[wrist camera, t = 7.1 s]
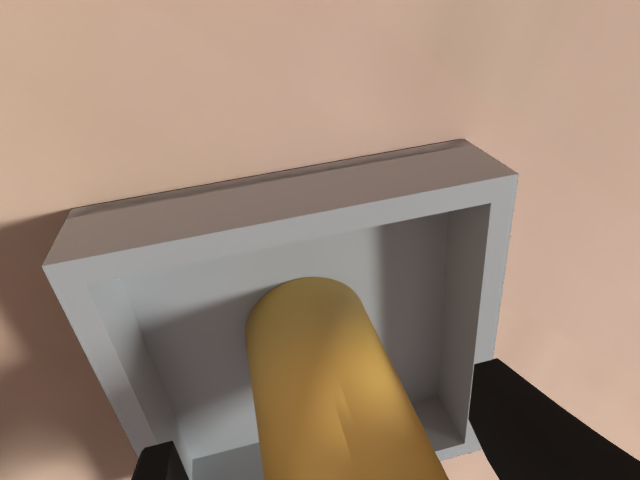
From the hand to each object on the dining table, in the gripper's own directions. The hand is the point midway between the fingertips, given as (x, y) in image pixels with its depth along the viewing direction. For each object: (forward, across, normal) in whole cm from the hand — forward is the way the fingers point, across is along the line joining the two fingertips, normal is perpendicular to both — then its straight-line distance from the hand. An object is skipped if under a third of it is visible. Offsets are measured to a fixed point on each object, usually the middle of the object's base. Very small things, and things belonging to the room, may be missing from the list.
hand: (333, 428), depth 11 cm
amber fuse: (+3, 0, 0) cm, 3 cm away
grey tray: (+4, 0, 0) cm, 4 cm away
